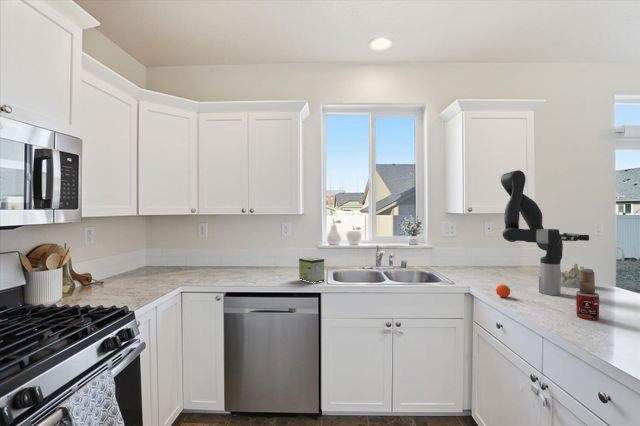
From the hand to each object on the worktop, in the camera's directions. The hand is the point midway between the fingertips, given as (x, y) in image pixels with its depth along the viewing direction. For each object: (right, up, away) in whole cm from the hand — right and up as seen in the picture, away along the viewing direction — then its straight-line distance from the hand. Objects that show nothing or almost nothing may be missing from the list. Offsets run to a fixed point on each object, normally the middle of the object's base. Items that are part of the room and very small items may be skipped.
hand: (589, 237), depth 153 cm
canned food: (-12, -34, -13) cm, 39 cm away
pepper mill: (-12, -23, -13) cm, 29 cm away
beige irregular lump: (+28, -34, +46) cm, 64 cm away
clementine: (-29, -34, +21) cm, 50 cm away
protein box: (-135, -35, +66) cm, 155 cm away
